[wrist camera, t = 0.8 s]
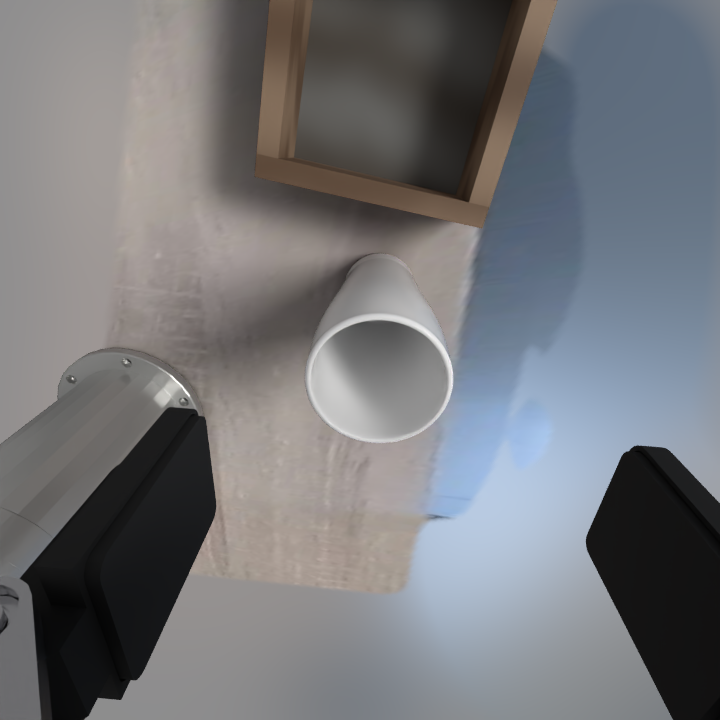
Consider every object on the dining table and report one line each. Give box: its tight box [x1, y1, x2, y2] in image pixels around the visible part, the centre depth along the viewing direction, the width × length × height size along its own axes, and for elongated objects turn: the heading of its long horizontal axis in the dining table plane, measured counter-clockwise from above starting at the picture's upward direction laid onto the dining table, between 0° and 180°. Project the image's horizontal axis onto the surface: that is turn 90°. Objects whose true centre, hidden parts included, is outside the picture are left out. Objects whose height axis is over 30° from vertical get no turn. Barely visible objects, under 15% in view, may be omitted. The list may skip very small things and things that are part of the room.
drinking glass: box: [305, 253, 453, 443], centre depth 25 cm, size 7×7×15 cm
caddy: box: [255, 0, 557, 228], centre depth 23 cm, size 13×13×6 cm
